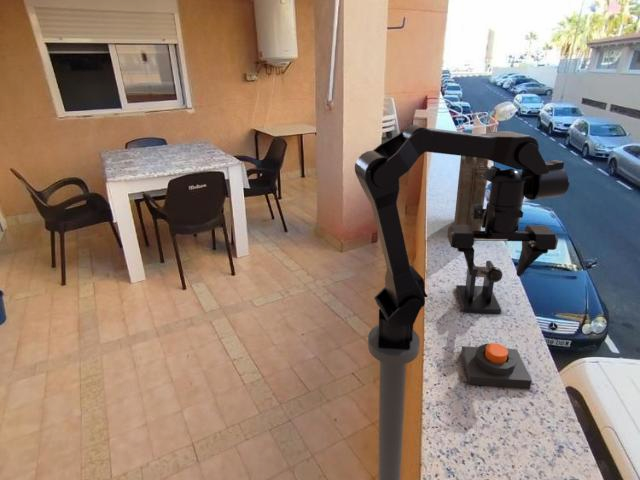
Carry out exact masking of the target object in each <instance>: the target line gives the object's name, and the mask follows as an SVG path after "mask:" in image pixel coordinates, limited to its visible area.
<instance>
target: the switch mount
mask: <svg viewBox="0 0 640 480" xmlns="http://www.w3.org/2000/svg"><path fill="white" fill-rule="evenodd" d="M476 266H477V265H476V264H475V263H474V264H473V272H472V275H470V274H469V272H468V267H467V268H466V278H465V284H456V286H455V290H456V294H457V297H458V299H459V300H458V301H459V303H460V306H461V309H462V312H463V313H471V314H474V313H475V314H494V315H495V314H498V315H501V312H502V308H501V306H500V304H499V302H498V300H497V299H496V296H495V294H494V292H493V290H494V284H495V282H490V281H489V280H487V278H486V277H483V282H482V285H476V280H477V277H476V273H477V268H476ZM485 267H488V268H490V267H495V266H494V264H493V262H492V260H486V262H485Z"/></svg>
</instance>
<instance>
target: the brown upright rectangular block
mask: <svg viewBox="0 0 640 480" xmlns="http://www.w3.org/2000/svg"><path fill="white" fill-rule="evenodd" d="M488 162H489V160H488V159H485V158H477V157H468V156H460V162H459V170H458V171H459V172H458V182H457V189H456V190H457V191H456V201H455V210H454V220H453V221H454V224H453V225H469V226H470V227H471V229H472V231H482V226H481V224H479V219H471V217H470V214H471V206H472V204H482V205H483V208H484V206H485V198H486V191H487V184H488V181H487V180H485V179H483V178H481V175H482V174H483V173H484V172H486V171H487V170H489V169H490V167H491V166H490V167H489V165H488Z"/></svg>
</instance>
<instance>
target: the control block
mask: <svg viewBox="0 0 640 480" xmlns="http://www.w3.org/2000/svg"><path fill="white" fill-rule="evenodd" d="M488 344H489V343H484V344H481V345H478V346H469V345H468V346H465V345H462V346H461V353H460V355H461V359H462V362H463V366H464V370H465V373H466V376H467V380H468V384H469V386H472V385H473V386H483V387H484V386H485V387H499V388H513V389H526V390H530V389H531V386H532V378H531V377H530V376H531V375H530V374H529V372H528V370H527V368H526V365H525V363H524V362H523V359H522V357H521V354H520V353H519V351H518V349H516V348H507V347H506V346H504V347H505V348H506V349H507V350H508V355H507V360H506V362H505V363H503V364H496V363H493V362H490V361H489V360H488V359H487V358H486V357H485V351H486V346H487V345H488Z"/></svg>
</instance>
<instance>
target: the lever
mask: <svg viewBox="0 0 640 480" xmlns="http://www.w3.org/2000/svg"><path fill="white" fill-rule="evenodd" d="M475 266H476V268H477V273H476V278H484V277H486V278H487V280H489V281H490V282H494V283H498V282H500V281H501V280H502V279H503V271H502V270H501V269H500V268H499V267H497V266H494V267H490V268H488V267H486V265H484V266H482V265H475Z"/></svg>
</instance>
